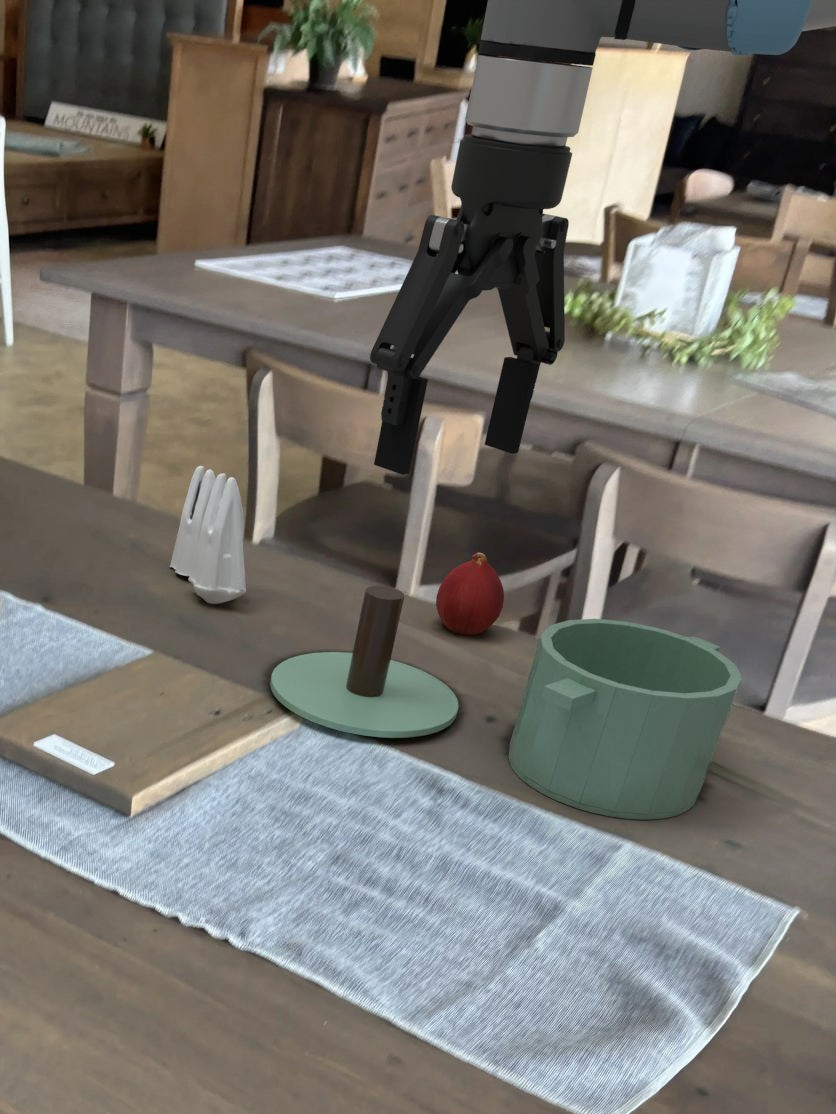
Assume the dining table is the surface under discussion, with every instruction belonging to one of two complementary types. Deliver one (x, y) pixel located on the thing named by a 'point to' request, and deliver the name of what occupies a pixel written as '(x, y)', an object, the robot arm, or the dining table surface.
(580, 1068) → the dining table surface
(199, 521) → the gray pronged block
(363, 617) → the lid
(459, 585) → the onion
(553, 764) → the pot
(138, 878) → the dining table surface
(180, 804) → the dining table surface
